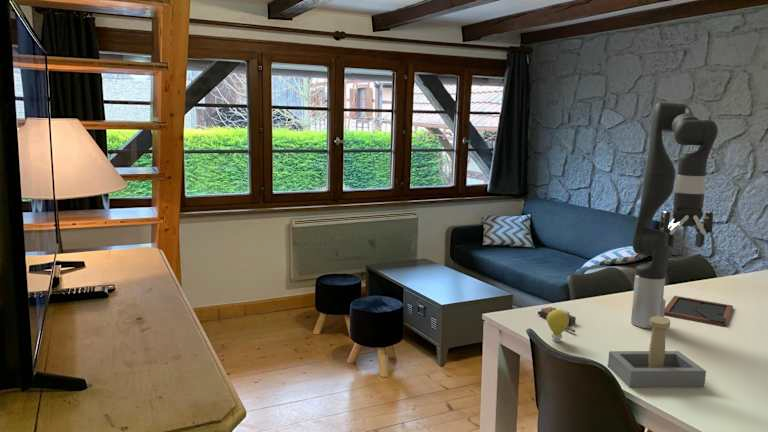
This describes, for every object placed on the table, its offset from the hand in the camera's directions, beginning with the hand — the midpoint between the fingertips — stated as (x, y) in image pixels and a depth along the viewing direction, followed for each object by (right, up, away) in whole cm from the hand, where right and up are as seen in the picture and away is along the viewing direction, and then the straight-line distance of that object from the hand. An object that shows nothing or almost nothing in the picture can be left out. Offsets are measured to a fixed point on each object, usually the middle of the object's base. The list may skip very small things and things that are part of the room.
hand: (683, 246), depth 162 cm
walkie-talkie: (-25, -29, +31) cm, 50 cm away
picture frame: (+30, -27, +46) cm, 61 cm away
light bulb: (-32, -31, +16) cm, 47 cm away
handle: (-13, -34, -9) cm, 37 cm away
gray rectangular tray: (-13, -35, -9) cm, 38 cm away
